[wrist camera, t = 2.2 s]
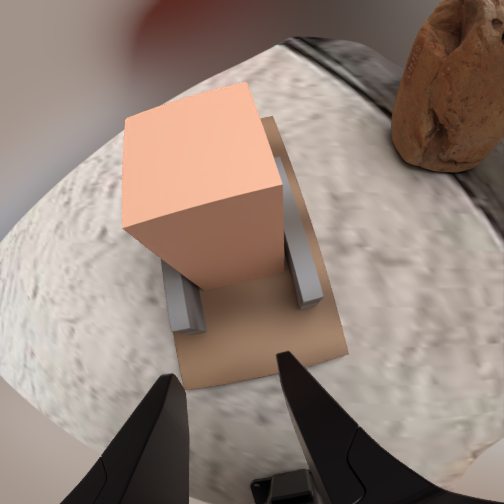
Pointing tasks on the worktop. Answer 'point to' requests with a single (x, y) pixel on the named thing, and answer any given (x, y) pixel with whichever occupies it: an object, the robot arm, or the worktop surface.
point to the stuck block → (205, 188)
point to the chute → (258, 305)
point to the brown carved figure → (453, 88)
